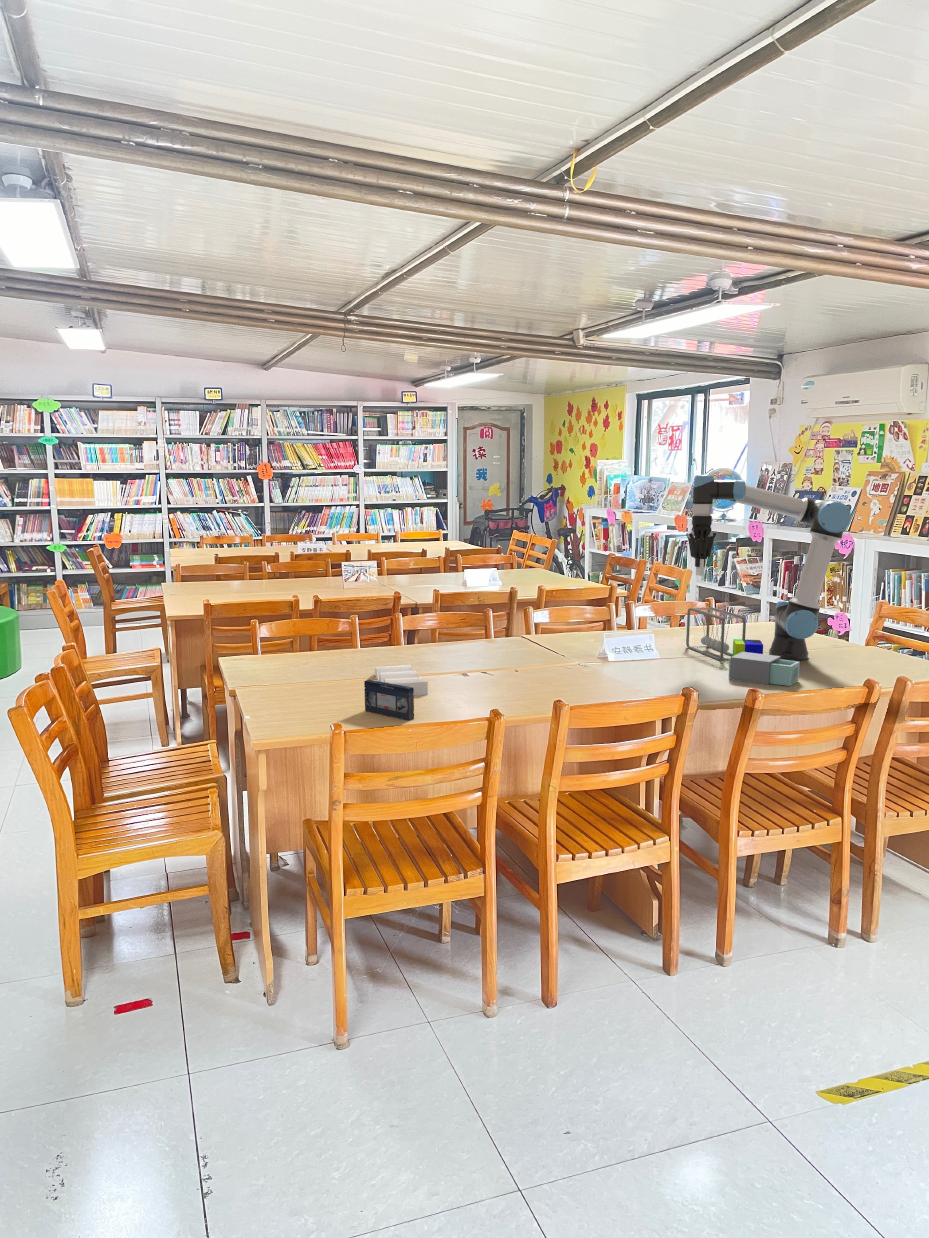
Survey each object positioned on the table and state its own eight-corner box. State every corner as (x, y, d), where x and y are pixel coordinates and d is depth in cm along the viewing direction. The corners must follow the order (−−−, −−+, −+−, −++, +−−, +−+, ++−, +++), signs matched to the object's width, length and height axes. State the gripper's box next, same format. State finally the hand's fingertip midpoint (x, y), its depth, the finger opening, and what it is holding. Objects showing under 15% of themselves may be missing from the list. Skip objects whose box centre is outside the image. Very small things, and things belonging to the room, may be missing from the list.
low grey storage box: (729, 679, 319) (730, 657, 318) (741, 673, 329) (742, 651, 327) (768, 684, 311) (769, 661, 309) (779, 678, 320) (780, 656, 319)
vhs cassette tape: (364, 711, 276) (363, 680, 274) (370, 709, 278) (370, 678, 276) (408, 721, 264) (407, 689, 263) (414, 719, 267) (414, 687, 265)
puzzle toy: (761, 670, 333) (763, 644, 332) (734, 669, 335) (735, 643, 334) (758, 665, 343) (760, 640, 342) (732, 664, 345) (733, 639, 344)
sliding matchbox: (728, 677, 320) (729, 658, 319) (738, 672, 328) (739, 654, 327) (789, 686, 307) (791, 666, 306) (798, 680, 315) (799, 661, 314)
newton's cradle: (744, 660, 352) (746, 616, 349) (720, 661, 349) (722, 617, 346) (707, 646, 380) (709, 606, 378) (685, 647, 378) (687, 606, 375)
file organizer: (408, 674, 330) (408, 660, 329) (427, 696, 296) (427, 681, 296) (374, 676, 327) (373, 662, 326) (389, 698, 293) (389, 683, 292)
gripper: (709, 514, 347) (706, 573, 351) (682, 514, 342) (680, 575, 346) (722, 515, 340) (719, 575, 344) (694, 515, 335) (691, 577, 339)
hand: (699, 575), depth 345 cm, fingers closed
